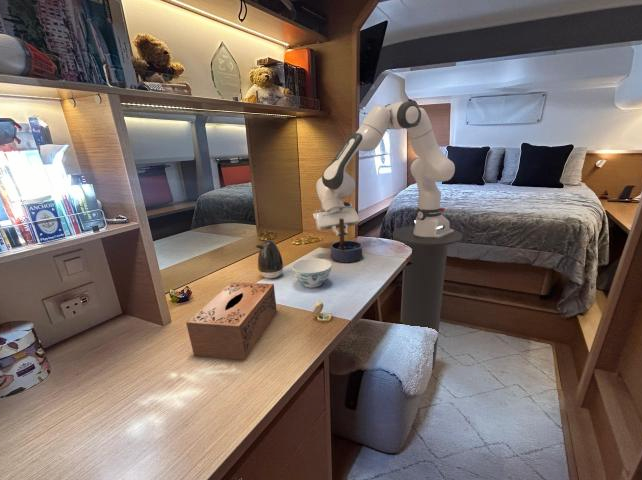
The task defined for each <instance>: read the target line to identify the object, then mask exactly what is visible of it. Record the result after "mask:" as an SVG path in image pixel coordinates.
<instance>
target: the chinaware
mask: <svg viewBox="0 0 642 480" xmlns="http://www.w3.org/2000/svg"><path fill="white" fill-rule="evenodd" d="M332 267H333V263H332V262H331V261H330V260H328V259H324V258H317V257H316V258H315V257H313V258H304V259H300V260H298V261H295V262H294V263H292V265H291V270H292V273H293V275H294V276H295V278H296V280H298V281H299V282H300V283H302V284H303V285H304V286H305V287H306V288H318V287H320V286H321V285H322V284H323V282H325V281H326V280H327V279H328V277H329V276H330V274H331V271H332Z"/></svg>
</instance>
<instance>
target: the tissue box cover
mask: <svg viewBox="0 0 642 480" xmlns="http://www.w3.org/2000/svg"><path fill="white" fill-rule="evenodd" d="M277 312H278V310H277V301H276V291H275V283H263V282H262V283H261V282H237V281H230V282H229V283H228V284H227V285H226V286H225V287H224V288H222V290H220V291H219V292H218V293H217V294H216V295H215V296H214V297H213V298H212V299H210V300H209V301H208V302H207V303H205V305H204V306H203V307H201V308H200V309H199V310H198V311H197V312H196V313H195V314H194V315H193V316H191V317H190V318H189V319H188V320H187V321H186V328H187V333H188V336H189V341H190V346H191V349H192V354H193V356H195V357H196V356H198V357H207V358H208V357H209V358H218V359H219V358H221V359H231V360H242V361H243V360H244V361H245V360H246V359H247V357H248V356H249V354H250V352H252V350H253V349H254V347H255V345H256V343H258V340H259V339H260V338H261V336H262V335H263V333H264V332H265V331H266V329H267V327H268V326H269V324H270V323H271V321H272V320H273V319H274V318H275V316H276V315H277Z"/></svg>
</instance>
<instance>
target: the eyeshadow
mask: <svg viewBox="0 0 642 480" xmlns="http://www.w3.org/2000/svg"><path fill="white" fill-rule="evenodd" d="M323 309H324V303H323V302H321V301H318V302H317V303H315V305H314V307H313V309H312V313H313V315H314V316H316V320H317V321H318V322H321V323H327V322H330V321H332V315H331V314H330V313H327V312H322V311H323Z"/></svg>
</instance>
